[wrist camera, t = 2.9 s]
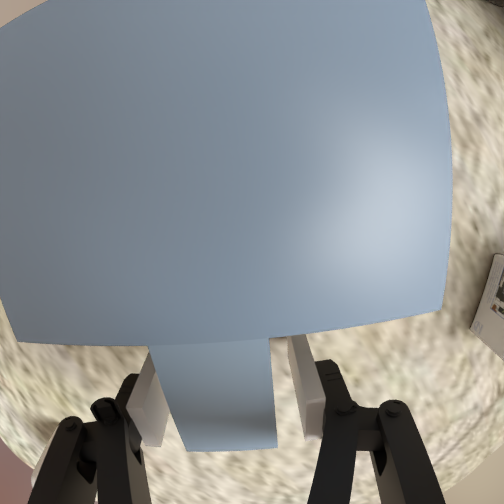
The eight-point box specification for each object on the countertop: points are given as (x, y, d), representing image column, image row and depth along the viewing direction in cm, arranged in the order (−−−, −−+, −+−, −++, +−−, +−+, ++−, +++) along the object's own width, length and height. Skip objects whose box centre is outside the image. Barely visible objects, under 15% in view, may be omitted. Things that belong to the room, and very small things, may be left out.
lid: (386, -8, 8) (413, -34, 6) (393, 387, 14) (411, 419, 11) (10, 54, 8) (-23, 44, 6) (87, 407, 14) (71, 438, 11)
